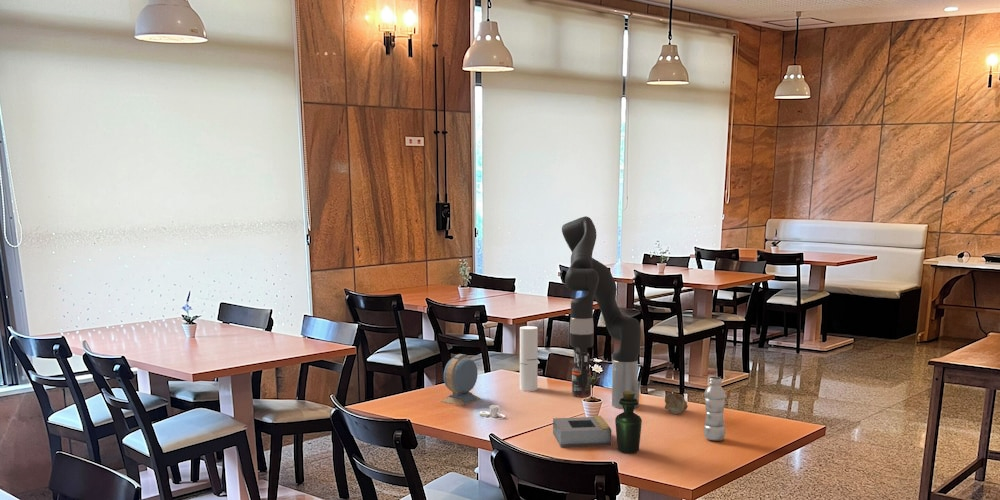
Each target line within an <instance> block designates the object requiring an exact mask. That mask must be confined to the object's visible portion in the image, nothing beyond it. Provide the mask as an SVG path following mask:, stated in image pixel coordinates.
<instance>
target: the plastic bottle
mask: <svg viewBox="0 0 1000 500" xmlns="http://www.w3.org/2000/svg"><path fill="white" fill-rule="evenodd" d="M708 384H709V385H708V386H707V388H706V389H705V390H704V393H703V395H704V397H703V398H704V404H705V422H704V426H703V435H704V437H705V438H706V439H707V440H709V441H715V442H716V441H718V442H719V441H723V440H724V439H725V437H726V426H725V419H724V409H725V403H726V393H725V390H724V388H723V387H722V386H721V385H723V384H722V378H721V377H719V376H709V379H708Z"/></svg>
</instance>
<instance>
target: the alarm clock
mask: <svg viewBox="0 0 1000 500" xmlns="http://www.w3.org/2000/svg"><path fill="white" fill-rule="evenodd" d="M478 374H479V373H478V367H477V364H476V363H475V362H474V360H473V359H471V358H470V357H469V356H468V355H467V354H462V353H458V354H456V355H455V356H454V357H452V358H450V359H449V360H448V361H447V363H446V365H445V367H444V371H443V382H444V385H445V387H446V388H447V389H448V390H449V391H451V392H452V393H451V394H449V396H446V398H444V399H442V400H441V401H440V402H441V403H445V404H449V405H450V404H451V405H454V404H455V406H459V405H462V406H465V405H467V404H470V403H473V402H475V401H476V402H477V401H479V400H481V397H479V396H478V395H475V394H473V393H472V392H470V391H471V390H472V389H474V387H475V385H476V383H477V380H478ZM464 404H465V405H464Z"/></svg>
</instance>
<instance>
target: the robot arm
mask: <svg viewBox="0 0 1000 500" xmlns="http://www.w3.org/2000/svg"><path fill="white" fill-rule="evenodd" d="M561 233H562V235H563V238H564V240H565V242H566V244H567V247H568V248H569V249H570V251H571V254H570V255H571V256H570V266H569V268H568V269H567V272H566V274H565V277H564V283H565V287H566V288H567V289H568V290H569V291H573V292H586V294H585V295H584V296H582V297H576V298H574V299H572V300H571V302H570V321H569V346H570V347H572V348H573V366H574V367H575V361H576V360H577V364H578V367H579V370H580V386H587V374H589V372H590V371H591V370H590V371H589V368H590V363H591V362H590V361H591V356H590V353H589V352H588V349H589V348H593V346H594V343H595V342H594V333H595V331H594V328H595V327H594V326H595V325H594V324H595V323H594V301H596V304H597V306H598V308H599V310H600V312H601V314H602V315H601V316H602V318H603V320H604V324H605V327H606V329H607V331H608V334H609V336H610V337H611V338H613V340H615V341H618V342H619V341H620V347H619V349H617V350H614V351H613V352H612V362H611V363H612V365H611V366H612V367H611V370H612V373H611V381H612V382H611V406H612V407H615V408H618V409H623V406H622V405H621V404H619V401H620V399H621V398H623V391H633V392H635V396H634V399H637V401H638V405H636V406H635V408H639V407H640V403H639V402H640V381H639V380H638V370H639V369H638V368H639V367H638V365H639V364H638V363H639V361H638V360H639V359H638V358H639V355H640V351H641V339H642V327H641V323H640V321H639V320H638V319H637V318H634V317H631V316H625V315H623V314H622V312H621V310H620V308H619V306H618V304H617V290H618V289H617V284H616V280H615V279H614V278H615V277H613V275H612V272H611V270H610V269H609V268H608V267H607V266H606V265H605V264H603V263H602V262H600V261H599V260H597V259H595V258H594V257H593V251H594V248H595V245H596V241H597V228H596V227H595V223H594V222H593V220H592V219H591V218H590V217H589V216H582V217H579V218H576V219H574V220H572V221H568V222H566V223H564V224H563V225H562V226H561ZM594 299H595V300H594ZM580 363H581V364H580ZM583 367H585V368H586V370H583ZM590 369H591V368H590Z"/></svg>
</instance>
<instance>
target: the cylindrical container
mask: <svg viewBox="0 0 1000 500" xmlns="http://www.w3.org/2000/svg"><path fill="white" fill-rule="evenodd" d="M538 328H539V327H537V326H531V325H525V326H520V327H519V390H520V391H523V392H535V390H536V391H537V390H538V376H539V375H538V360H539V359H538V353H539V352H538V349H539V348H538V345H539V344H538V343H539V341H538V340H539V339H538V338H539V336H538V335H539V334H538V332H539V331H538Z"/></svg>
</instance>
